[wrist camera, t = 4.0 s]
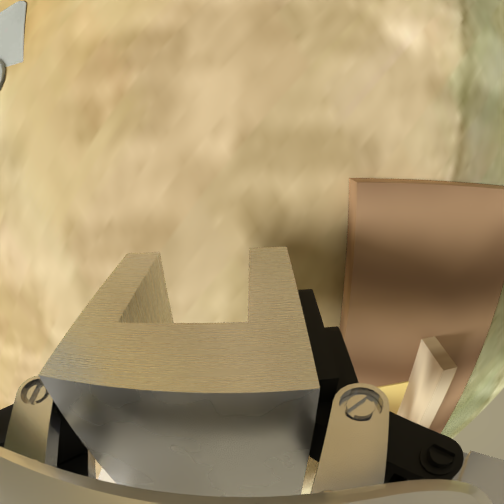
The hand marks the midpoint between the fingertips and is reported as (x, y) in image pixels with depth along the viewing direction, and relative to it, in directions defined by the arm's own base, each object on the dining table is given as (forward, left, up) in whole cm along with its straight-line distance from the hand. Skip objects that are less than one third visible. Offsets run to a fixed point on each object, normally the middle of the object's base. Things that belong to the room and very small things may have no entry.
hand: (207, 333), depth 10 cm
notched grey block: (0, 0, -1) cm, 1 cm away
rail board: (+7, +12, -6) cm, 15 cm away
